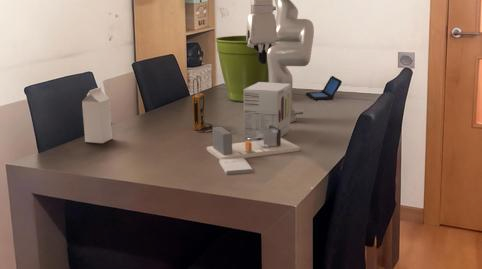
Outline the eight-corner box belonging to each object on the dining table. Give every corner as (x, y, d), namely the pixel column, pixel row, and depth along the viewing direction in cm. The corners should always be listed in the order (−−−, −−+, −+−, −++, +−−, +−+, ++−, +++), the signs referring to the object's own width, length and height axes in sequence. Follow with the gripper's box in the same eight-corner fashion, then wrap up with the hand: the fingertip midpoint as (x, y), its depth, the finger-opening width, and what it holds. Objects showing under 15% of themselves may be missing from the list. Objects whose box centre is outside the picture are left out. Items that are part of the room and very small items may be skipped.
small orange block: (248, 149, 208) (248, 140, 207) (251, 151, 205) (251, 142, 205) (245, 149, 207) (245, 141, 207) (248, 152, 205) (248, 143, 204)
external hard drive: (226, 176, 189) (219, 164, 201) (253, 173, 190) (244, 162, 202) (226, 170, 188) (219, 159, 200) (253, 168, 190) (244, 157, 202)
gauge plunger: (271, 140, 219) (271, 125, 218) (284, 147, 210) (284, 131, 209) (243, 144, 215) (243, 128, 214) (255, 151, 207) (255, 135, 205)
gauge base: (281, 140, 225) (281, 118, 223) (299, 150, 212) (299, 126, 210) (206, 150, 214) (206, 126, 212) (221, 161, 202) (221, 136, 200)
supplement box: (278, 141, 224) (278, 91, 220) (243, 138, 229) (242, 89, 224) (291, 130, 240) (291, 82, 236) (258, 127, 245) (258, 81, 240)
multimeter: (216, 133, 236) (215, 80, 231) (190, 132, 238) (188, 80, 233) (225, 124, 250) (224, 74, 245) (200, 123, 252) (199, 73, 247)
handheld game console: (305, 95, 308) (305, 76, 305) (331, 94, 310) (332, 75, 307) (314, 101, 293) (314, 81, 290) (342, 100, 295) (342, 80, 293)
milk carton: (112, 138, 231) (109, 87, 226) (102, 143, 224) (98, 91, 220) (95, 137, 233) (91, 86, 228) (84, 142, 227) (80, 90, 222)
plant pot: (280, 104, 285) (281, 40, 278) (215, 105, 286) (213, 41, 279) (278, 92, 314) (278, 34, 307) (218, 93, 315) (216, 35, 308)
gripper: (276, 9, 224) (276, 60, 229) (237, 10, 219) (238, 63, 223) (286, 10, 218) (286, 63, 222) (246, 11, 212) (246, 66, 217)
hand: (262, 63), depth 223 cm, fingers closed
